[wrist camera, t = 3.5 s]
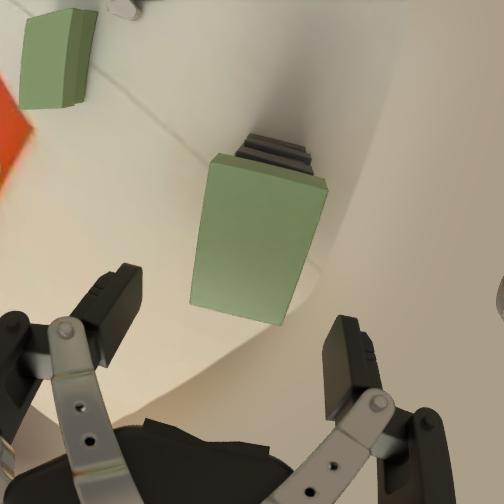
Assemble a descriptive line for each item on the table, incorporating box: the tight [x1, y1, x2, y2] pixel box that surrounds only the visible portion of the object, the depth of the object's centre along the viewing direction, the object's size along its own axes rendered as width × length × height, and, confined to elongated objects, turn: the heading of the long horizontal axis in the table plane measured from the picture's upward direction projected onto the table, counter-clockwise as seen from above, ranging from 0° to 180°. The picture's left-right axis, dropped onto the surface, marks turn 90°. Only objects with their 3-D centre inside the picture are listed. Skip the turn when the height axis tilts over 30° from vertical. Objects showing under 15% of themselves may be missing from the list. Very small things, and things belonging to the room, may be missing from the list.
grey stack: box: [235, 134, 314, 176], centre depth 22 cm, size 8×5×9 cm, turn 168°
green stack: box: [19, 8, 98, 110], centre depth 19 cm, size 9×6×4 cm
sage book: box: [189, 153, 328, 326], centre depth 17 cm, size 8×6×2 cm, turn 168°
